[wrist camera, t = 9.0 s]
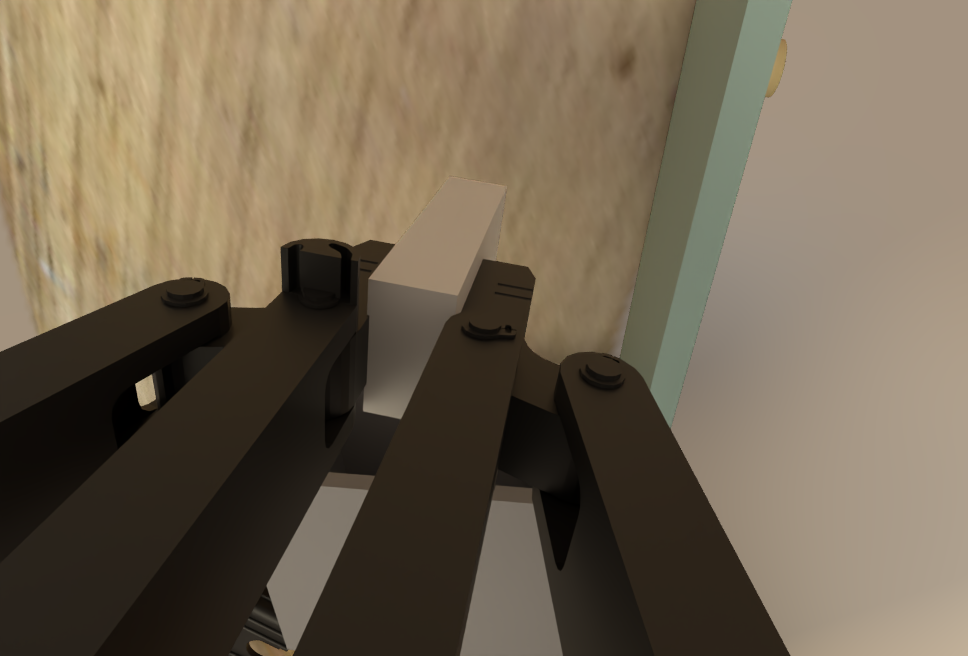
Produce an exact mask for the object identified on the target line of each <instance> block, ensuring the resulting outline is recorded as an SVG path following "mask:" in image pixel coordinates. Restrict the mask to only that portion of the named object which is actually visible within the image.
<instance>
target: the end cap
mask: <svg viewBox="0 0 968 656" xmlns="http://www.w3.org/2000/svg"><path fill="white" fill-rule="evenodd" d="M253 640H260V641H263V642H265V643H267V644H269V645H271V646H273V647H275V648H277V649H282V650H285V651H288V650H289V649H287V647H286V644H285V641H284V638H283V635H282V632H281V628H280V625H279V622H278V619H277V616H276V613H275V610H274V607H273V604H272V601H271V598H270V595H269V592H268V589H267V586H266V587H265V589H264V591H263V593H262V595H261V596H260V598H259V600H258V602H257V604H256V605H255V607H254V609H253V611H252V613H251V615H250V616H249V618H248V620H247V622H246V624H245V625H244V627H243V629H242V631H241V633H240V635H239V636H238V638H237V640H236V642H235V644H234V645H233V647H232V649H231V651H230V653H229V655H228V656H262V655H260V654H258V653H257V652H255V651H254V650H253V649H252V648H251V647H250V645H249V642H250V641H253Z"/></svg>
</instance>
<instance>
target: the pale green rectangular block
mask: <svg viewBox="0 0 968 656" xmlns="http://www.w3.org/2000/svg"><path fill="white" fill-rule="evenodd" d="M791 3H792V0H696V5H695V10H694V14H693V19H692V24H691V28H690V33H689V38H688V42H687V47H686V52H685V56H684V61H683V66H682V70H681V75H680V79H679V84H678V89H677V93H676V98H675V103H674V107H673V112H672V117H671V121H670V126H669V131H668V135H667V140H666V145H665V149H664V154H663V159H662V163H661V168H660V173H659V177H658V182H657V187H656V191H655V196H654V200H653V205H652V210H651V214H650V219H649V224H648V228H647V233H646V238H645V242H644V247H643V252H642V256H641V261H640V266H639V270H638V275H637V280H636V284H635V289H634V294H633V298H632V303H631V308H630V312H629V317H628V321H627V326H626V331H625V335H624V340H623V345H622V349H621V354H620V359H622V360H623V361H625V362H626V363H628V364H629V365H631V366H633V367H634V368H636V370H637V371H638V372H639V373H640V374H641V376H642V377H643V378H644V380H645V382H646V384H647V386H648V388H649V390H650V391H651V393H652V395H653V397H654V399H655V401H656V403H657V405H658V407H659V408H660V410H661V412H662V414H663V416H664V418H665V420H666V422H667V424H668V425H669V427H670V429H671V425H672V422H673V418H674V415H675V411H676V408H677V404H678V401H679V397H680V394H681V390H682V387H683V383H684V380H685V376H686V373H687V369H688V366H689V362H690V359H691V355H692V352H693V348H694V345H695V341H696V338H697V334H698V330H699V327H700V323H701V320H702V316H703V313H704V309H705V306H706V302H707V299H708V295H709V292H710V288H711V285H712V281H713V278H714V274H715V271H716V267H717V263H718V260H719V256H720V253H721V249H722V246H723V242H724V239H725V235H726V232H727V228H728V224H729V221H730V218H731V214H732V211H733V207H734V204H735V200H736V196H737V193H738V190H739V186H740V182H741V179H742V176H743V172H744V169H745V165H746V162H747V158H748V154H749V150H750V147H751V144H752V140H753V137H754V133H755V130H756V126H757V123H758V119H759V116H760V112H761V109H762V105H763V102H764V98H765V97H771V96H772V95H773V94H774V92H775V90H776V88H777V86H778V84H779V82H780V79H781V76H782V73H783V70H784V66H785V60H786V54H787V44H786V41H785V40H784V39H781V38H782V35H783V31H784V28H785V24H786V21H787V17H788V13H789V10H790V6H791Z"/></svg>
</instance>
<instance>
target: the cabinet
mask: <svg viewBox="0 0 968 656" xmlns="http://www.w3.org/2000/svg"><path fill="white" fill-rule="evenodd" d="M363 400H364V389H363V391H362V392H361V394H360V396H359V397H358V399H357V401H356V403H355V421H354V426H353V429H352V431H351V433H350V434H349V436H348V438H347V440H346V442H345V444H344V445H343V447H342V449H341V451H340V453H339V454H338V456H337V458H336V460H335V462H334V464H333V465H332V467H331V469H330V471H329V473H328V474H327V476H326V478H325V480H324V482H323V484H322V485H321V487H320V489H319V491H318V493H317V494H316V496H315V498H314V500H313V502H312V504H311V505H310V507H309V509H308V511H307V513H306V514H305V516H304V518H303V520H302V522H301V524H300V525H299V527H298V529H297V531H296V533H295V534H294V536H293V538H292V540H291V542H290V544H289V545H288V547H287V549H286V551H285V553H284V555H283V556H282V558H281V560H280V562H279V564H278V565H277V567H276V569H275V571H274V573H273V575H272V576H271V578H270V580H269V582H268V584H267V585H266V586H267V589H268V592H269V595H270V598H271V601H272V604H273V607H274V610H275V613H276V616H277V619H278V622H279V625H280V628H281V632H282V635H283V638H284V641H285V644H286V647H287V649H289V650H296V647H297V645H298V643H299V641H300V639H301V637H302V634H303V632H304V630H305V628H306V626H307V623H308V621H309V619H310V617H311V615H312V613H313V610H314V608H315V606H316V604H317V602H318V599H319V597H320V595H321V593H322V591H323V589H324V586H325V584H326V582H327V580H328V578H329V575H330V573H331V571H332V569H333V567H334V564H335V562H336V560H337V558H338V556H339V554H340V551H341V549H342V547H343V545H344V543H345V540H346V538H347V536H348V534H349V532H350V530H351V527H352V525H353V523H354V521H355V519H356V516H357V514H358V512H359V510H360V508H361V506H362V503H363V501H364V499H365V497H366V495H367V492H368V490H369V488H370V486H371V484H372V482H373V479H374V477H375V475H376V473H377V471H378V468H379V466H380V464H381V462H382V460H383V458H384V455H385V453H386V451H387V449H388V447H389V444H390V442H391V440H392V438H393V436H394V434H395V431H396V429H397V427H398V425H399V423H400V420H401V419H398V418H394V417H389V416H384V415H379V414H374V413H369V412H364V411H363ZM532 487H533V486H532V485H530V484H528V483H526V482H524V481H521V480H519V479H517V478H515V477H513V476H511V475H509V474H507V473H505V472H503V471H501V470H499V469H498V474H497V479H496V485H495V490H494V492H493V497H492V502H491V507H490V511H489V516H488V521H487V526H486V531H485V536H484V541H483V546H482V550H481V555H480V560H479V565H478V570H477V575H476V580H475V584H474V589H473V594H472V599H471V604H470V609H469V614H468V619H467V623H466V628H465V633H464V638H463V643H462V648H461V653H460V656H563V653H562V648H561V643H560V638H559V633H558V628H557V623H556V618H555V613H554V608H553V603H552V598H551V593H550V588H549V583H548V578H547V573H546V568H545V563H544V557H543V552H542V547H541V542H540V537H539V532H538V527H537V522H536V517H535V512H534V507H533V502H532Z"/></svg>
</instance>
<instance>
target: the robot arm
mask: <svg viewBox="0 0 968 656" xmlns="http://www.w3.org/2000/svg"><path fill="white" fill-rule="evenodd" d="M506 190H507V186H505V185H499V184H493V183H488V182H482V181H476V180H470V179H465V178H459V177H453V176H449V178H448V179H447V180H446V181H445V183H444V184H443V185H442V186H441V188H440V189H439V190H438V191H437V193H436V194H435V195H434V197H433V198H432V199H431V200H430V202H429V203H428V204H427V205H426V207H425V208H424V209H423V210H422V212H421V213H420V214H419V216H418V217H417V218H416V219H415V221H414V222H413V223H412V224H411V226H410V227H409V228H408V229H407V231H406V232H405V233H404V234H403V236H402V237H401V238H400V240H399V241H398V242H397V243H396V245H395V244H390V243H384V242H379V241H373V240H369V241H367V242H364V243H362V244H359V245H356V246H354V247H352V246H350V245H349V244H346V243H343V242H339V241H336V240H329V239H302V240H297V241H293V242H289V243H287V244H285V245H283V246H281V271H282V292H281V293H280V294H279V295H278V296H277V297H276V298H275V299H274V300H273V301H272V302H271V303H270V304H269V305H268V306H267V307H266V308H237V307H231V303H230V293H229V292H228V290H227V288H226V287H225V286H223V285H221V284H219V283H217V282H214V281H209V280H204V279H202V278H194V279H192V277H191V278H181V279H178V280H170V281H166V282H163V283H160V284H157V285H154V286H152V287H149V288H147V289H145V290H142V291H140V292H138V293H135V294H133V295H131V296H128V297H126V298H124V299H121V300H119V301H117V302H115V303H112V304H110V305H108V306H105V307H103V308H101V309H98V310H96V311H94V312H91V313H89V314H87V315H84V316H82V317H80V318H78V319H75V320H73V321H71V322H68V323H66V324H64V325H61V326H59V327H57V328H54V329H52V330H50V331H48V332H45V333H43V334H41V335H38V336H36V337H34V338H31V339H29V340H27V341H24V342H22V343H20V344H18V345H15V346H13V347H11V348H8V349H6V350H4V351H1V352H0V656H228V655H229V653H230V651H231V649H232V647H233V645H234V644H235V642H236V640H237V638H238V636H239V635H240V633H241V631H242V629H243V627H244V625H245V624H246V622H247V620H248V618H249V616H250V615H251V613H252V611H253V609H254V607H255V605H256V604H257V602H258V600H259V598H260V596H261V595H262V593H263V591H264V589H265V587H266V585H267V584H268V582H269V580H270V578H271V576H272V575H273V573H274V571H275V569H276V567H277V565H278V564H279V562H280V560H281V558H282V556H283V555H284V553H285V551H286V549H287V547H288V545H289V544H290V542H291V540H292V538H293V536H294V534H295V533H296V531H297V529H298V527H299V525H300V524H301V522H302V520H303V518H304V516H305V514H306V513H307V511H308V509H309V507H310V505H311V504H312V502H313V500H314V498H315V496H316V494H317V493H318V491H319V489H320V487H321V485H322V484H323V482H324V480H325V478H326V476H327V474H328V473H329V471H330V469H331V467H332V465H333V464H334V462H335V460H336V458H337V456H338V454H339V453H340V451H341V449H342V447H343V445H344V444H345V442H346V440H347V438H348V436H349V434H350V433H351V431H352V429H353V426H354V421H355V403H356V401H357V399H358V397H359V396H360V394H361V392H362V391H363V389H364V400H363V411H364V412H369V413H374V414H379V415H384V416H389V417H394V418H398V419H401V420H400V423H399V425H398V427H397V429H396V431H395V434H394V436H393V438H392V440H391V442H390V444H389V447H388V449H387V451H386V453H385V455H384V458H383V460H382V462H381V464H380V466H379V468H378V471H377V473H376V475H375V477H374V479H373V482H372V484H371V486H370V488H369V490H368V492H367V495H366V497H365V499H364V501H363V503H362V506H361V508H360V510H359V512H358V514H357V516H356V519H355V521H354V523H353V525H352V527H351V530H350V532H349V534H348V536H347V538H346V540H345V543H344V545H343V547H342V549H341V551H340V554H339V556H338V558H337V560H336V562H335V564H334V567H333V569H332V571H331V573H330V575H329V578H328V580H327V582H326V584H325V586H324V589H323V591H322V593H321V595H320V597H319V599H318V602H317V604H316V606H315V608H314V610H313V613H312V615H311V617H310V619H309V621H308V623H307V626H306V628H305V630H304V632H303V634H302V637H301V639H300V641H299V643H298V645H297V647H296V650H295V652H294V654H293V656H460V653H461V648H462V643H463V638H464V633H465V628H466V623H467V619H468V614H469V609H470V604H471V599H472V594H473V589H474V584H475V580H476V575H477V570H478V565H479V560H480V555H481V550H482V546H483V541H484V536H485V531H486V526H487V521H488V516H489V511H490V507H491V502H492V497H493V492H494V490H495V485H496V479H497V474H498V469H499V470H501V471H503V472H505V473H507V474H509V475H511V476H513V477H515V478H517V479H519V480H521V481H524V482H526V483H528V484H530V485H532V486H533V487H532V502H533V507H534V512H535V517H536V522H537V527H538V532H539V537H540V542H541V547H542V552H543V557H544V563H545V568H546V573H547V578H548V583H549V588H550V593H551V598H552V603H553V608H554V613H555V618H556V623H557V628H558V633H559V638H560V643H561V648H562V653H563V656H790V654H789V652H788V651H787V648H786V647H785V645H784V643H783V641H782V639H781V637H780V636H779V634H778V632H777V630H776V628H775V626H774V624H773V622H772V620H771V618H770V616H769V614H768V613H767V611H766V609H765V607H764V605H763V603H762V601H761V599H760V597H759V596H758V594H757V592H756V590H755V588H754V586H753V584H752V582H751V580H750V579H749V577H748V575H747V573H746V571H745V569H744V567H743V565H742V563H741V562H740V560H739V558H738V556H737V554H736V552H735V550H734V548H733V546H732V545H731V543H730V541H729V539H728V537H727V535H726V533H725V531H724V529H723V528H722V526H721V524H720V522H719V520H718V518H717V516H716V514H715V512H714V511H713V509H712V507H711V505H710V503H709V501H708V499H707V497H706V495H705V493H704V492H703V490H702V488H701V486H700V484H699V482H698V480H697V478H696V476H695V475H694V473H693V471H692V469H691V467H690V465H689V463H688V461H687V460H686V458H685V456H684V454H683V452H682V450H681V448H680V446H679V445H678V443H677V441H676V439H675V437H674V435H673V433H672V431H671V429H670V427H669V425H668V424H667V422H666V420H665V418H664V416H663V414H662V412H661V410H660V408H659V407H658V405H657V403H656V401H655V399H654V397H653V395H652V393H651V391H650V390H649V388H648V386H647V384H646V382H645V380H644V378H643V377H642V376H641V374H640V373H639V372H638V371H637V370H636V368H634V367H633V366H631V365H629V364H628V363H626V362H625V361H623V360H622V359H620V358H617V357H615V356H614V357H613V356H612V355H609V354H605V353H602V354H601V353H595V352H581V353H576V354H573V355H570V356H567V357H566V358H565V359H564V360H563V361H562V363H561V364H560V366H559V365H556V364H554V363H552V362H549V361H547V360H545V359H543V358H541V357H540V356H539V355H537V354H536V353H534V352H533V351H532V350H531V349H530V348H529V347H528V346H527V344H526V342H525V339H524V337H525V332H526V327H527V321H528V316H529V311H530V305H531V300H532V295H533V289H534V284H535V279H536V278H535V277H534V275H533V274H532V272H531V271H530V269H529V268H528V267H525V266H519V265H514V264H509V263H503V262H498V261H496V257H497V250H498V243H499V237H500V230H501V224H502V217H503V210H504V204H505V197H506ZM151 374H152V377H153V383H154V389H155V395H156V400H154V401H153V402H151V403H149V404H147V405H144V406H140V404H139V402H138V397H137V391H136V386H135V384H136V383H137V382H139V381H141V380H143V379H144V378H146V377H148V376H149V375H151Z"/></svg>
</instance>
